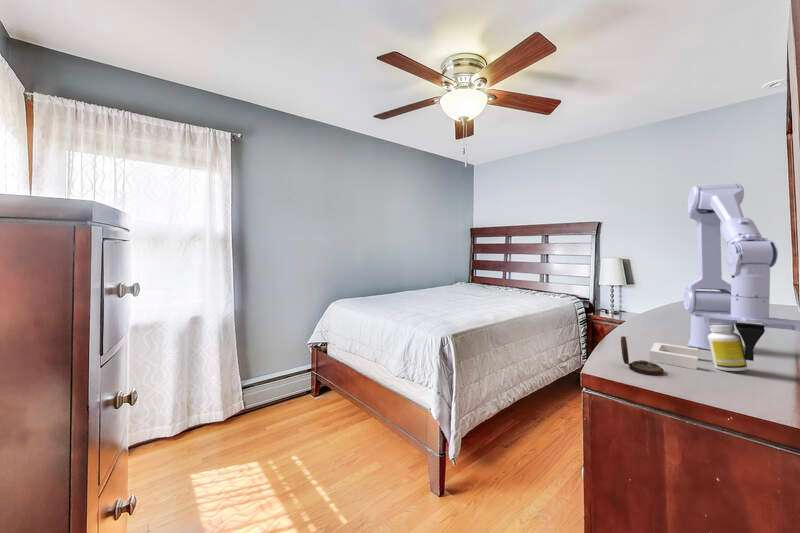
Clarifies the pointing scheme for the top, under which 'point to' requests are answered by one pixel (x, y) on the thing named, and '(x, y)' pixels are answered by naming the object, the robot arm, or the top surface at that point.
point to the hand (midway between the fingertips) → (748, 359)
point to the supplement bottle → (726, 348)
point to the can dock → (674, 355)
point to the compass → (639, 362)
